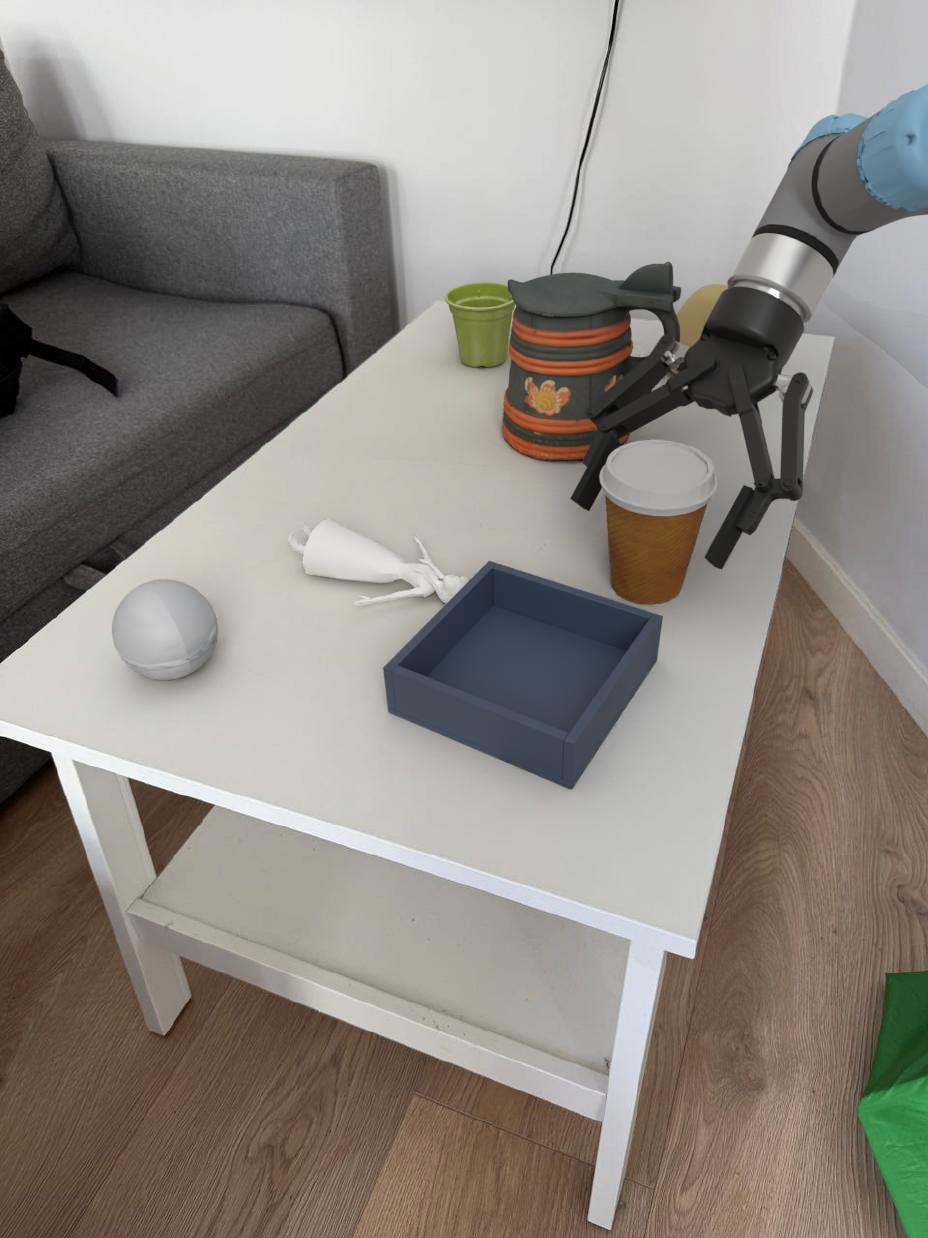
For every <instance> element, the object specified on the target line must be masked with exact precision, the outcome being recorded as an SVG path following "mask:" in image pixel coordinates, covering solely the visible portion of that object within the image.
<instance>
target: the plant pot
mask: <svg viewBox="0 0 928 1238" xmlns="http://www.w3.org/2000/svg"><path fill="white" fill-rule="evenodd" d="M444 301H445V303H446V304H447V305H448V308H449V312H450V313H451V315H452V320H453V325H454V331H455V335H456V341H457V347H458V352H459V357H460V361H461V363H463V364H464V365H466V366H468V367H471V368H478V367H485V368H494V367H496V366H497V367H498V366H499V365H501V364H504V363H505V362H506V359H507V357H508V352H509V340H510V335H511V327H512V320H513V312H514V310H515V308H516V304H515V303H514V301H513V299H512V295H511V293H510V292H509V291H508V284H507V283H506V284H505V283H502V282H501V283H500V282H494V281H480V282H470V283H465V284H461V285H460V284H459V285H457V286H455V287H453V288H451V289H449V290H448V291H447V292H446V293H445V294H444Z"/></svg>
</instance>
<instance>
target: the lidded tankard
mask: <svg viewBox="0 0 928 1238" xmlns="http://www.w3.org/2000/svg"><path fill="white" fill-rule="evenodd" d="M507 285H508V291H509V292H510V293H511V295H512V299H513V301H514V303H515V308H514V310H513V312H512V320H511V327H510V334H509V343H508V356H509V357H510V365H509V374H508V384H507V385H508V386H507V388H506V390H505V392H504V395H503V402H502V406H503V407H502V411H503V412H502V423H501V432H502V435H503V437H504V439H505V441H506V442H507V443H508V444H509V445H510V446H511V447H512V448H513V449H515V450H516V451H518V452H519V453H520V454H524V455H526V457H527V456H528V457H529V458H534V459H537V460H540V461H548V462H552V461H577V460H583V458H584V456H585V454H586V452H587V450H588V449H589V447H590V445H591V443H592V441H593V439H594V437H595V435H596V433H597V427H596V425H595V424H594V423H593V422H592V421H591V420H590V419H589V418H588V417H587V416H586V410H587V408H588V407H589V406H591V405H592V404H593V403H594V402H595V401H596V400H597V399H599V398H600V397H601V396H602V395H603V394H604V393H606V392H607V391H608V390H609V389H610V388H611V387H613V386H614V385H615V384H616V383H617V382H618V381H620V380H621V379H622V378H623V377H624V376H625V375H626V374H628V373H629V372H630V371H631V370H632V369H633V368H635V367H636V366H637V365H638V364H639V363H640V362H642V361H643V360H644V359H645V358H646V357H647V356H648V355H645V356H633V355H632V354H633V350H634V342H633V339H632V336H633V334H632V333H633V332H632V327H631V324H632V316H631V313H630V312H631V311H637V310H642V311H643V310H644V311H648V312H650V313H652V314H654V315H655V316H656V317H657V318H658V319H659V321H660V323H661V325H662V329H663V335H665V334H671V335H672V336H673V337H674V339H675V340H676V341H677V342H679V343H680V325H679V322H678V318H677V313H676V310H675V307H674V303H676V302H678V301H679V300H680V299H681V296H682V287H681V286H676V285H674V266H673V264H672V263H671V262H670V261H666V262H664V263H651V264H650V263H649V264H646V265H643V266H641V267H639V268H637V269H636V270H634V271H633V272H632V273H630V274H629V275H628V276H627V277H626V279H625V280H622V279H620V280H617V279H616V280H615V279H614V280H612V279H610V278H607V277H604V276H600V275H596V274H592V273H585V272H560V273H559V272H558V273H553V274H547V275H543V276H539V277H534V278H532V279H530V280H526V281H524V282H522V281H518V280H515V279H508V280H507ZM661 381H662V379H661V380H660V381H659V382H658V383H657V384H656V385H654V386H653V387H652V388H651V389H650V390H649V391H647V392H646V393H645V394H644V395H646V394H648V393H650V392H652V391H653V390H654V389H655V388H656V386H657V385H658V384H659V383H660V382H661ZM644 395H643V396H644ZM643 396H641V397H643ZM641 397H640V398H641ZM629 435H631V433H629V434H628V435H626V436H624V437H622V438H620V439H619V442H620V443H621V444H622V445H624V443H625V442H626V440H627V439H628V438H629Z"/></svg>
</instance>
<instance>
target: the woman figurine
mask: <svg viewBox="0 0 928 1238" xmlns="http://www.w3.org/2000/svg"><path fill="white" fill-rule="evenodd" d="M301 531H302V532H303V533H302V535H303V536H304V537H305V538H307V540H306V542H305V545H304V544H301V543H299V541H298V539H297V538H296V537H295V536H294V532H291V534H289V536H288V543H289V549H291V550H292V551H294V552H296V553H299V554H300V555H302V557H303V559H302V562H301V563H302V564H301V565H302V566H303V569H304V571H305V573H306V575H310V576H317V577H324V578H325V577H326V578H330V579H335V580H342V581H349V582H350V581H351V582H360V583H361V582H363V583H371V584H372V583H374V584H375V583H376V584H389V583H393V582H395V581H398V580H403V581H405V582H406V583H408V584H409V585H411V586H412V587H413V588H410V589H405V590H404V589H403V590H399V591H396V592H392V593H388V594H386V595H380V596H376V597H369V596H366V595H357V596H358V598H362V599H360V600H359V599H358V600H354V601H353V604H352V606H354V607H359V608H360V607H364V606H368V605H370V604H376V603H381V602H387V601H397V600H400V599H405V598H412V597H422V598H426V597H429V596H430V595H433V594H434V593H436V595H437V596H438V598H439V600H440V601H441V602H442V603H444V604H445V605H446V604H447V603H448V602H449V601H450V600H451V599H452V598H453V597H454V596H455V595H456V594H457V593H458V592H459V591H460V590H461V589H462V587H463V586H464V585H465V584H466V583H467V582H468V581H469V580H470V579H471V578H470V577H468V576H467V575H465V574H460V576H458V575H456V574H446V575H445V574H444V573H443V572H442V571H441V570H439V568H438V567H437V566H436V564H435V563H434V561H433V559H432V557H431V555H430V554H429V553H428V551H427V549H426V547H425V546H424V544H423V542H422V540H421V538H420V536H419V535H418V534H417V533H415V535H414V534H413V538H414V541H415V542H416V543H417V546H418V547H419V550H420V551H421V553H422V557H423V558H418V561H420V562H421V563H415V562H408V561H407V560H406V559H405V558H404V557H403V556H402V555H399V554H397V553H396V552H394V551H393V550H391V549H389V548H387V547H385V546H383V545H381V544H380V543H378V542H377V541H375V540H374V539H373V540H372V539H371V538H369V537H368V536H366V535H365V534H363V533H361V532H359V531H358V530H356V529H353V528H351V527H350V526H347V525H345V524H343V523H341V522H339V521H337V520H336V519H333V518H327V519H324V520H323V521H321V522H320V523H318V524H316V526H315V528H314V529H313V530H311V529H310V527H309V525H308V523H307V521H304V522H303V523H302V524H301Z"/></svg>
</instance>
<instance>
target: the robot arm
mask: <svg viewBox="0 0 928 1238" xmlns="http://www.w3.org/2000/svg"><path fill="white" fill-rule="evenodd" d="M927 215H928V84H925V85H923V86H921V87H919V88H917V89H913V90H911V91H908V92H905V93H903V94H901V95H899V97H898V98H897V99H893V100H891V101H889V102H888V103H887V105H885V106H884V107H883V108H881V109H880V110H878V111H877V112H876V113H874V114H873V115H871V116H869V117H867V116H863V115H860V114H856V113H851V112H850V113H848V112H847V113H843V114H842V115H840V116H839V115H837V114H829V115H827V116H825V117H823V118H821V119H819V120H818V121H816V123H815V124H813V126H812V127H811V128H810V130H809V132H808V133H807V135H806V137H805V138H804V139H803V141H802V143H801V144H800V146H799V147H797V149H796V150H795V151H794V152H793V155H792V156H791V158H790V161H789V163H788V165H787V169H786V171H785V173H784V175H783V177H782V179H781V181H780V182H779V185H778V186H777V188H776V189H775V192H774V193H773V196H772V197H771V199H770V201H769V204H768V206H767V207H766V209H765V211H764V213H763V215H762V217H761V219H760V220H759V222H758V225H757V226H756V228H755V230H754V231H753V234H752V235H751V238H750V240H749V241H748V243H747V245H746V247H744V250H743V252H742V254H741V255H740V257H739V260H738V261H737V263H736V265H735V266H734V268H733V271H732V272H731V274H730V275H729V277H728V279H727V281H726V286H728V289H726V290H724V291H723V292H722V293H721V295H720V297H719V298H718V300H717V302H716V304H715V306H714V308H713V310H712V312H711V313H710V315H709V317H708V319H707V321H706V323H705V325H704V328H703V331H702V334H701V336H700V338H699V340H698V341H697V342H696V343H695V344H694V345H693V346H691V347H688V346H686V345H683V344H681V343H679V342H677V341H676V340H675V339H674V337H673V336H672V335H671V334H665V335H664V334H662V336H661V337H660V338H659V340H658V341H657V343H656V345H654V347H653V349H652V350H651V352H650V353H649V354H648V355H646V356H647V357H646V356H645V357H646V358H645V359H644V360H643V361H642V362H640V363H639V364H638V365H637V366H636V367H635V368H633V369H632V370H631V371H630V372H629V373H628V374H626V375H625V376H624V377H623V378H622V379H621V380H620V381H618V382H617V383H616V384H615V385H614V386H613V387H611V388H610V389H609V390H608V391H607V392H606V393H604V394H603V395H602V396H601V397H600V398H599V399H597V400H596V401H595V402H594V403H593V404H592V405H591V406H589V407H588V408H587V410H586V416H587V417H588V418H589V419H590V420H591V421H592V422H593V423H594V424H595V425H596V427H597V433H596V435H595V437H594V439H593V441H592V443H591V445H590V447H589V449H588V450H587V452H586V454H585V456H584V458H583V459H582V464H583V465H584V466H585V467H586V468H585V470H584V472H583V473H582V476H581V477H580V479H579V481H578V483H577V485H576V486H575V489H574V490H573V492H572V494H571V496H570V498H569V499H570V500H572V502H574V503H575V504H576V505H578V507H580V508H581V509H583V510H585V511H588V512H590V511H591V509H592V507H593V505H594V504H595V502H596V500H597V498H598V496H599V494H600V492H601V490H603V488H602V486H601V483H600V471H601V469H602V468H603V466H604V465H605V464H606V461H607V459H608V456H609V455H610V454H611V453H612V452H613V451H614V450H615V449H617V448H619V447H620V446H623V445H624V444H621V443H620V442H619V439H620V438H622V437H624V436H626V435H628V434H629V433H630V434H631V433H633V432H635V431H637V430H639V429H641V428H643V427H645V426H646V425H648V424H650V423H651V422H653V421H656V420H657V419H659V418H662V417H663V416H664V415H666V414H669V413H670V412H672V411H674V410H675V409H678V408H680V407H688V406H689V405H691V404H693V403H696V404H697V406H698V407H700V408H702V409H706V410H716V411H717V412H719V413H720V414H721V415H724V416H727V417H729V418H731V417H732V416H733V415H737V416H738V417H739V420H740V421H739V422H740V425H741V429H742V434H743V437H744V442H745V446H746V451H747V456H748V460H749V464H750V468H751V472H752V477H753V481H754V482H753V486H754V489H753V487H750V486H748V485H745V484H743V485H742V487H741V489H740V491H739V493H738V494H737V496H736V498H735V500H734V502H733V503H732V505H731V507H730V509H729V510H728V512H727V514H726V516H725V518H724V520H723V522H722V523H721V526H720V527H719V529H718V531H717V532H716V535H715V537H714V538H713V540H712V542H711V544H710V546H709V547H708V549H707V551H706V553H705V555H704V557H703V558H704V559H705V560H706V561H707V562H708V563H709V564H710V565H712V567H714V568H716V569H718V570H721V571H722V570H723V569H724V567H725V566H726V563H727V561H728V560H729V558H730V556H731V554H732V553H733V551H734V549H735V546H736V545H737V543H738V541H739V540H740V538H741V536H742V534H743V533H744V534H746V535H748V536H752V535H753V534H754V533H755V532H756V531H757V529H758V528H759V526H760V524H761V522H762V520H763V518H764V516H765V515H766V513H767V511H768V509H769V507H770V505H772V503H773V502H774V501H777V500H789V501H791V502H796V501H797V502H798V501H799V500H800V499H801V498H802V497H803V494H804V464H805V463H804V460H805V459H804V458H805V454H804V453H805V419H806V411H807V410H808V409H807V408H808V406H809V403H810V401H811V399H812V396H813V394H814V388H813V386H812V384H811V382H810V380H809V378H808V375H807V374H806V373H805V372H802V371H798V372H796V373H794V374H793V375H787V374H782V370H783V368H784V367H785V366H786V365H787V364H788V362H789V359H790V358H791V356H792V355H793V352H794V350H795V348H796V347H797V346H798V343H799V341H800V339H801V338H802V336H803V334H804V332H805V323H808V322H809V321H810V320H811V319H812V317H813V315H814V313H815V311H816V309H817V307H818V306H819V304H820V302H821V300H822V299H823V296H824V295H825V292H826V291H827V289H828V287H829V285H830V283H831V281H832V279H833V278H834V277H835V275H836V273H837V271H838V269H839V267H840V265H841V264H842V262H843V260H844V258H845V257H846V255H847V252H849V249H850V247H851V246H852V244H853V243H854V241H855V240H856V239H857V238H858V236H861V235H864V234H867V233H870V232H873V231H875V230H877V229H880V228H882V227H884V226H887V225H889V224H892V223H894V222H897V221H900V220H903V219H907V218H911V217H918V216H927ZM682 362H685V370H683V371H681V372H679V373H677V374H674V375H672V376H670V377H669V378H667V380H666V382H665V383H664V384H662V385H660V386H659V387H657V388H654V389H653V390H652V391H651V392H650V393H648V394H646V395H644V394H645V393H646V392H647V391H649V390H650V389H651V388H652V387H653V386H654V385H656V384H657V383H658V382H659V381H660V380H661V381H662V380H664V378H665V377H666V376H667V375H668V374H669V373H670V372H671V369H672V368H674V369H676V368H678V367H679V364H680V363H682ZM661 381H660V382H661ZM660 382H659V383H660ZM659 383H658V384H659ZM658 384H657V385H658ZM657 385H656V386H657ZM686 387H687V388H686ZM684 388H685V389H684ZM777 391H778V396H779V399H780V401H781V402H782V409H781V410H782V411H781V412H782V413H781V414H782V415H781V443H780V444H781V445H780V471H779V473H780V475H779V477H780V478H779V477H778V478H775V477H776V476H775V474H774V473H775V472H774V469H773V465H772V461H771V457H770V452H769V448H768V445H767V439H766V436H765V431H764V427H763V421H762V415H761V411H760V407H759V403H760V402H761V401H763V400H765V399H766V398H768V397H769V396H771V395H773V394H774V393H775V392H777ZM643 395H644V396H643ZM641 396H643V397H641ZM640 397H641V398H640ZM630 434H629V435H630Z"/></svg>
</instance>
